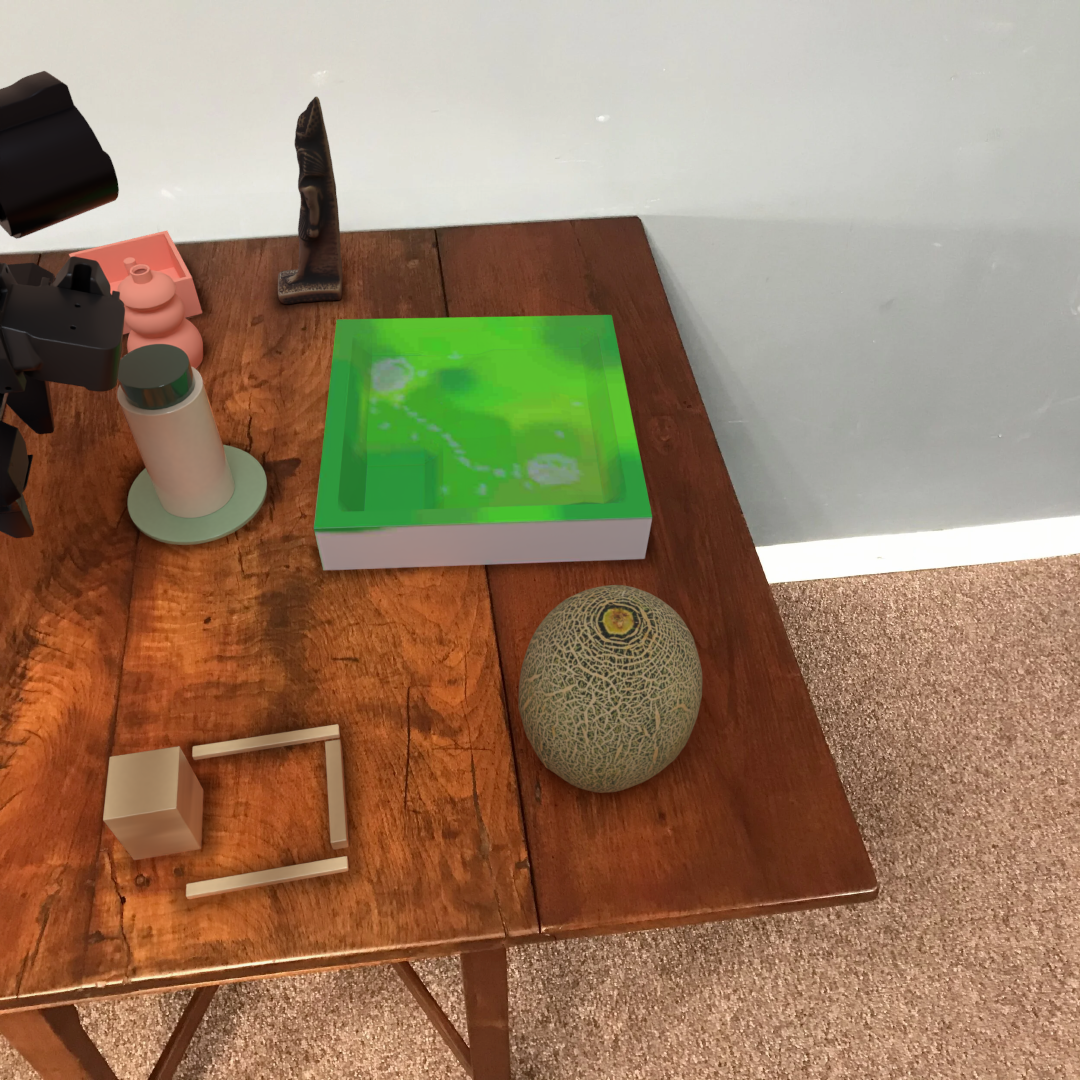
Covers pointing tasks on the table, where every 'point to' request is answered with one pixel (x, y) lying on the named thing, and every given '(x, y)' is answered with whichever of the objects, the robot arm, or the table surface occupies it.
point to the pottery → (152, 292)
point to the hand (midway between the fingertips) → (36, 481)
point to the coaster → (204, 528)
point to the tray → (479, 445)
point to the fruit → (610, 688)
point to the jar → (175, 430)
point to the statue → (314, 217)
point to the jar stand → (177, 806)
